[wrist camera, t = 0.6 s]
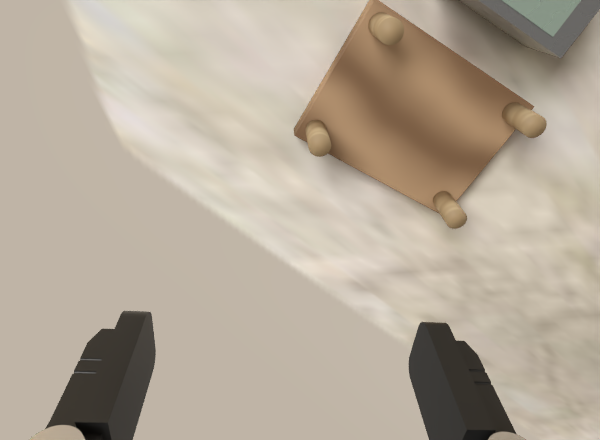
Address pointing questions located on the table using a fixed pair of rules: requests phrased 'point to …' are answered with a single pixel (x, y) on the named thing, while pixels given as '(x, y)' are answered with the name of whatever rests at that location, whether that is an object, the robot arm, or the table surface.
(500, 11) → the grey rectangular block
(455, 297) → the table surface
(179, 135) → the table surface
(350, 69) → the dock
